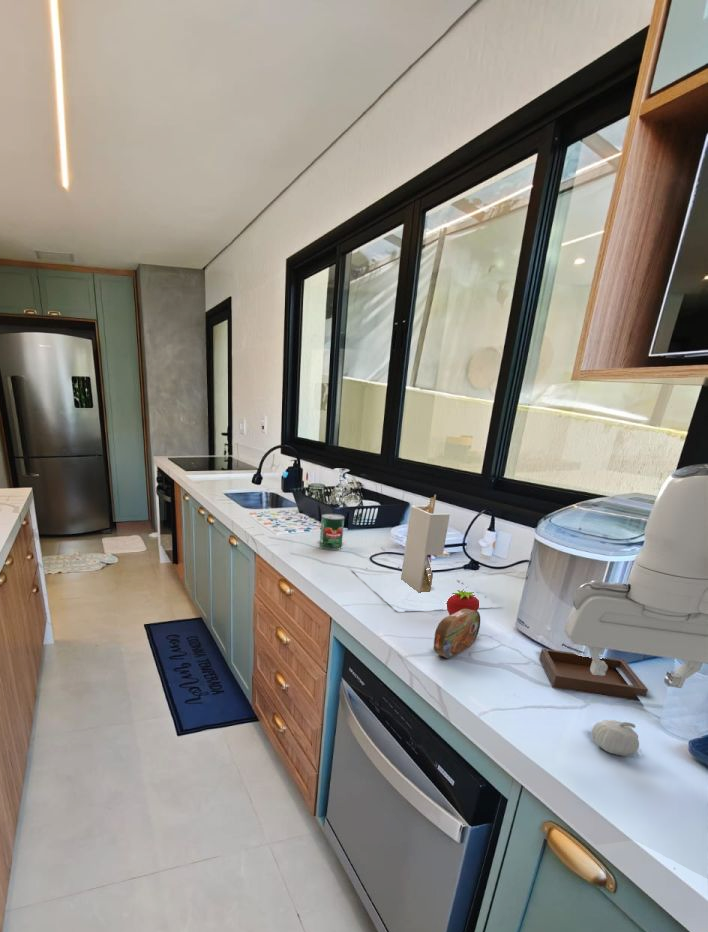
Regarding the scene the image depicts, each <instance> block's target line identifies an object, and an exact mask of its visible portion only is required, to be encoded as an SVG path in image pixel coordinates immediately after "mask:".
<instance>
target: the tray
mask: <svg viewBox="0 0 708 932" xmlns="http://www.w3.org/2000/svg"><path fill="white" fill-rule="evenodd" d="M574 653H575V652H570V651H563V650H557V649H556V650H555V649H549V648H544V647H543V648H542V647H541V651H540V655H539V657H538V660H539V659H540V660H539V662H540V661H541V662H540V664H541V663H542V664H541V666H542V668H543V670H544V672H545V674H546V677H547V678H548V680H549V683H550V684H551V686H552V688H553V689H561V690H566V691H572V692H579V693H586V694H592V695H596V696H597V695H598V696H605V697H611V698H616V699H617V698H618V699H624V700H630V701H636V702H641V699H640V697H638V696H643V697H645V696H647V695H648V692H649V689H648V687H647V686H645V684H644V683H643V682H642V681H641V679H640V678H639V677H638V676H637V674H636V673H635V672H634V671H633V668H631V667H630V666H629V664H628V663H627V662H626V661H625V660H624V659H620V658H614V657H613V658H612V657H606V658H607V659H606V658H605V659H604V658H602V659H600V660H601V661H604V662H605V664H607V666H608V668H607V671H605V673H606V674H605V676H600V675H593V674H592V673H591V671H590V667H591V664H592V658H589V657H582V656H578V655H576V654H574ZM617 667H618V668H619V669H620V670H621V672H622V673H623V674H624V676H625V677H626V678H627V679H628V681H629V682H630V683H631V684H628V682H627V681H626V679H625V678H624V676H622V674H621V673H620V671H619V670H618V669H617Z"/></svg>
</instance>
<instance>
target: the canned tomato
mask: <svg viewBox="0 0 708 932" xmlns="http://www.w3.org/2000/svg"><path fill="white" fill-rule="evenodd" d="M320 521H321V522H320V533H319V534H320V535H319V545H318V546H319V548H321V547H322V548H321V549H323V548H326V549H325V550H328V549H338V550H340V549H339V548H341V547H342V548H343V538H344V537H343V536H344V525H345V516H344V515H343V514H337V513H325V514H321V520H320ZM342 548H341V549H342Z"/></svg>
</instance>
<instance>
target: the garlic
mask: <svg viewBox="0 0 708 932" xmlns="http://www.w3.org/2000/svg"><path fill="white" fill-rule="evenodd" d="M635 728H636V724H635V723H632V722H627V721H621V720H620V721H619V720H615V719H604V720H602V721H599V722H597V723H595V724H594V725H593V727H592V729H591V737H592V739H593V741H594V742H595V744H596V745H597V746H598V747H599V748H601V749H602V750H604V751H605V752H608V753H610V754H613V755H617V756H622V757H628V756H633V755H635V754H636V753H637V752H638V750H639V748H640V740H639V735H638V733H637V732H636V731H635V730H634V729H635Z"/></svg>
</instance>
